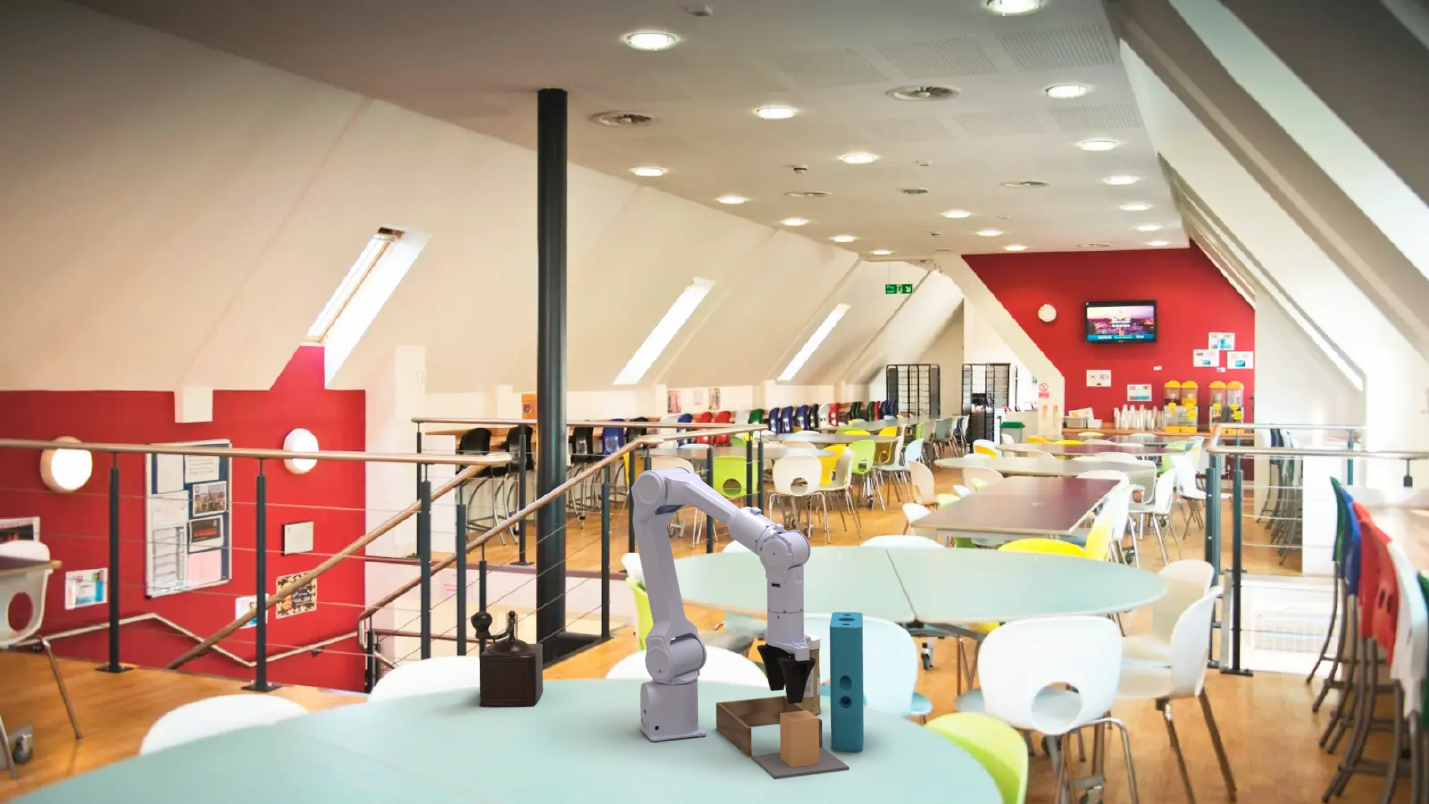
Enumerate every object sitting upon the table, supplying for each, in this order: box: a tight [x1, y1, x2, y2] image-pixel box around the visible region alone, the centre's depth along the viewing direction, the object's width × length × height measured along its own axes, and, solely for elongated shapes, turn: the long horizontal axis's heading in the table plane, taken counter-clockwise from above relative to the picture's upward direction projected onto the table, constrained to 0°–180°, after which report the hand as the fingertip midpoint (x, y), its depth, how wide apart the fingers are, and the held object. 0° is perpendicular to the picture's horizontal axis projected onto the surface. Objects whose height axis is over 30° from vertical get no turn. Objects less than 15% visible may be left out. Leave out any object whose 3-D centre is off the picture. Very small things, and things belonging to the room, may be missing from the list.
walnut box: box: [715, 694, 823, 758], centre depth 192 cm, size 13×16×4 cm
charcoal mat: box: [750, 746, 850, 780], centre depth 179 cm, size 12×10×1 cm
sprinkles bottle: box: [797, 634, 822, 716], centre depth 206 cm, size 5×5×13 cm
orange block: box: [779, 710, 820, 767], centre depth 179 cm, size 4×4×7 cm
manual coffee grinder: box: [470, 610, 544, 708], centre depth 215 cm, size 16×11×18 cm
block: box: [829, 611, 865, 753], centre depth 189 cm, size 12×5×20 cm, turn 172°
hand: (785, 696), depth 183 cm, fingers open, 7 cm apart
